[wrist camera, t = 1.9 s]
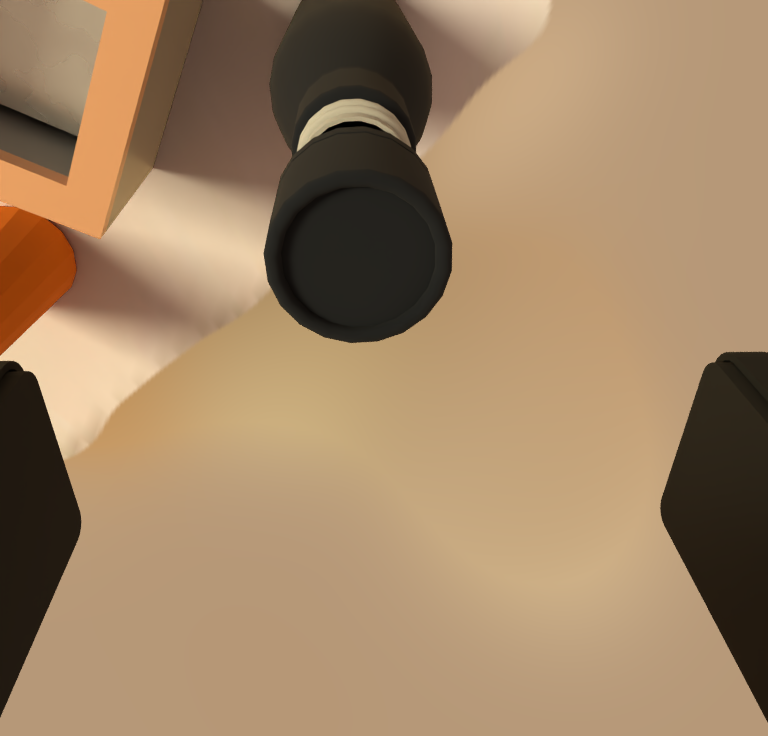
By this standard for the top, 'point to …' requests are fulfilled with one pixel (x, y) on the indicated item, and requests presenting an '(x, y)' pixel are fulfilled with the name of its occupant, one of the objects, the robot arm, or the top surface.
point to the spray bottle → (30, 270)
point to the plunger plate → (48, 58)
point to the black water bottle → (354, 174)
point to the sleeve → (102, 121)
